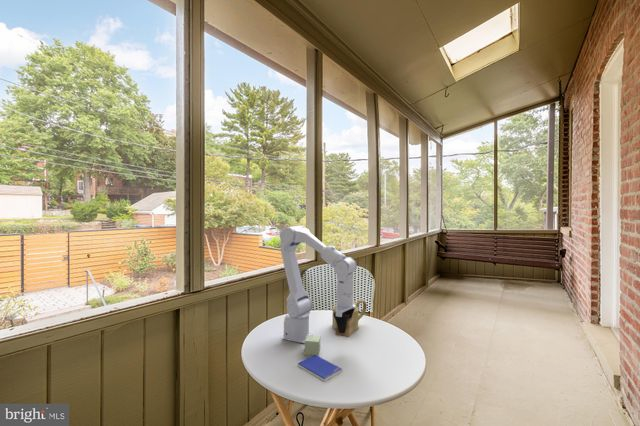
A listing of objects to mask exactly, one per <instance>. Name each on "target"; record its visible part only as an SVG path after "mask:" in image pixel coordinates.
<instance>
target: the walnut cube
mask: <svg viewBox="0 0 640 426" xmlns="http://www.w3.org/2000/svg"><path fill="white" fill-rule="evenodd" d="M334 330H335V329H334ZM334 332H335V333H334V334H335V336H337V337H338V336H339V337H342V338H343V337H344V338H350V337H351V335H353V333H354V332H353V318H348V321H347V325H346V331H345V333H339V331H338V326H337V322H336V330H335V331H334Z"/></svg>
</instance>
